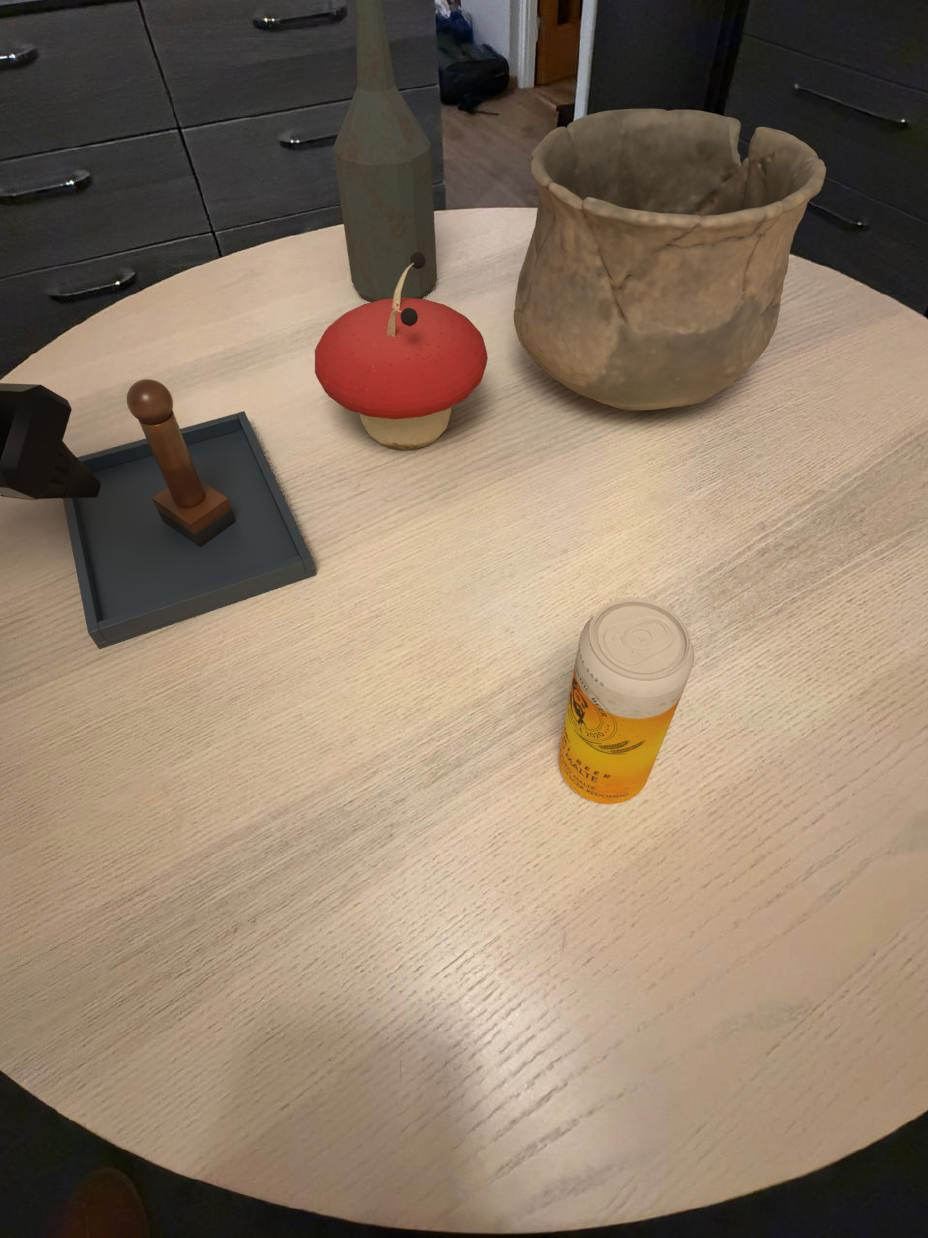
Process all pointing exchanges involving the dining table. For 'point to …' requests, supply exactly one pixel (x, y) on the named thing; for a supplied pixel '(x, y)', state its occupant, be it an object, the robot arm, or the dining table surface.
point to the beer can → (623, 697)
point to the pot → (659, 253)
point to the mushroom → (401, 365)
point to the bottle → (384, 174)
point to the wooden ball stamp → (177, 468)
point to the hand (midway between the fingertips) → (49, 485)
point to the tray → (180, 535)
